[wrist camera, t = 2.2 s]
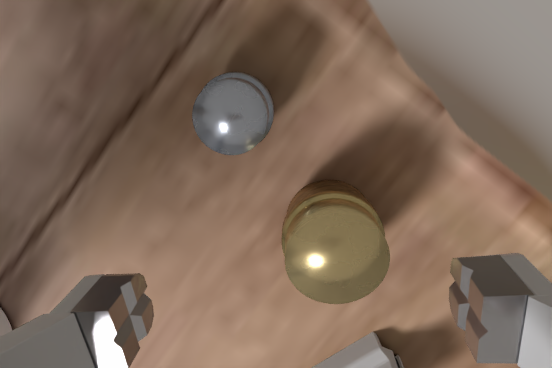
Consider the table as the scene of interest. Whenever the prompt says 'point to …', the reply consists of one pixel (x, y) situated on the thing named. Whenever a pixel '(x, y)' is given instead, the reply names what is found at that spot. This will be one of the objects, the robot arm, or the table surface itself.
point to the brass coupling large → (334, 243)
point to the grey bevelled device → (363, 356)
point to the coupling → (233, 113)
